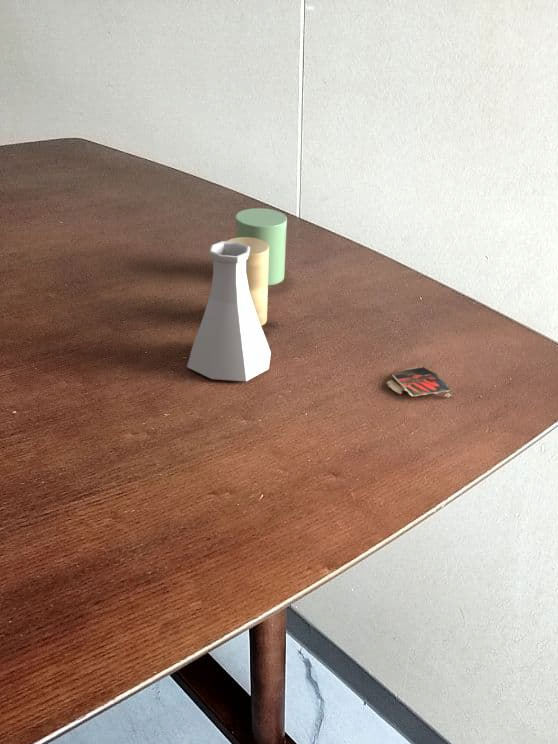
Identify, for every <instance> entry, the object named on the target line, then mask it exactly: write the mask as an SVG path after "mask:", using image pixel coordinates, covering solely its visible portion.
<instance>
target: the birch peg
mask: <svg viewBox="0 0 558 744" xmlns="http://www.w3.org/2000/svg"><path fill="white" fill-rule="evenodd" d="M227 241H228V242H239V243H242V244H244V245H247V246H249V247H250V252H249V256H248V259H247V260H246V274H247V280H248V286H249V292H250V295H251V298H252V301H253V304H254V307H255V310H256V313H257V316H258V319H259V322H260V325H261V327H262V326H264V325H266V323H267V320H268V297H269V294H268V293H269V286H268V266H269V245H268V244H267V243H266V242H265V241H262V240H260V239H256V238H250V237H239V238H236V237H234V238H230V239H227Z"/></svg>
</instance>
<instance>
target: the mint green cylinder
mask: <svg viewBox="0 0 558 744" xmlns="http://www.w3.org/2000/svg"><path fill="white" fill-rule="evenodd" d="M287 228H288V217H287V215H286V214H284V213H283V212H281V211H278V210H275V209H270V208H263V207H262V208H261V207H260V208H259V207H257V208H256V207H253V208H247V209H243V210H240V211H239V212H237V214H236V215H235V238H239V237H250V238H256V239H260V240H262V241H265V242H266V243H267V244H268V245H269V266H268V287H269V286H274V285H278V284H280V283H282V282H283V281H284V279H285V278H286V277H285V275H286V251H287V231H288V230H287Z"/></svg>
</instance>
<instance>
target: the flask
mask: <svg viewBox="0 0 558 744" xmlns="http://www.w3.org/2000/svg"><path fill="white" fill-rule="evenodd" d="M209 248H210V249H209V251H208V252H209V253H208V255H209V258H210V259H212V280H211V288H210V292H209V297H208V300H207V303H206V307H205V310H204V313H203V316H202V319H201V322H200V325H199V327H198V329H197V334H196V336H195V338H194V341H193V343H192V344H193V345H192V347H191V351H190V354H189V357H188V362H187V365H186V368H188V369H190V370H192V371H194V372H196V373H199V374H200V375H202V376H205V377H207V378H209V379H211V380H222V381H237V382H248V381H250V380H252V379H253V378H255V377H257V376H259V375H261V374H263V373H264V372H266V371H268V370H270V363H271V357H272V356H271V354H272V352H271V349H270V346H269V342H268V341H267V337H266V335H265V333H264V330H263V327H262V326H261V325H260V322H259V319H258V316H257V313H256V310H255V307H254V304H253V301H252V298H251V295H250V292H249V286H248V280H247V274H246V260H247V259H248V256H249V252H250V247H249V246H247V245H244V244H242V243H239V242H228V240H221V241H218V242H215V243H213V244H211V245H210V247H209Z"/></svg>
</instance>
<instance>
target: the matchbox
mask: <svg viewBox="0 0 558 744" xmlns="http://www.w3.org/2000/svg"><path fill="white" fill-rule="evenodd" d="M392 377H393V379H394V380H393V379H390V380H388V381H387V382H386V384H387V386H386V387H389V389H390V388H391V390H392V391H394V392H396V393H397V394H400V395H401V394H403V391H404V392H407V394H408V395H409V396H410V397H418V396H419V397H420V396H427V395H429V394H430V395H431V394H437V395H438V394H439V393H445V392H446V394H443V397H445V398H446V397H447V398H450V397H453V396H456V395H457V393H453V392H452V393H451V392H450V391H452V390H453V389H452V387H451V386H450V385H448V383H447V382H446V381H444V380H443V379H442V378H440V376H439V375H438V374H437V373H436V372H434V371H431V370H429V369H427V368H426V367H425V366H419V365H418V366H417V367H412V368H410V367H409V368H406V369H402V370H400V371H399V372H395V373H394V374H392Z"/></svg>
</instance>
